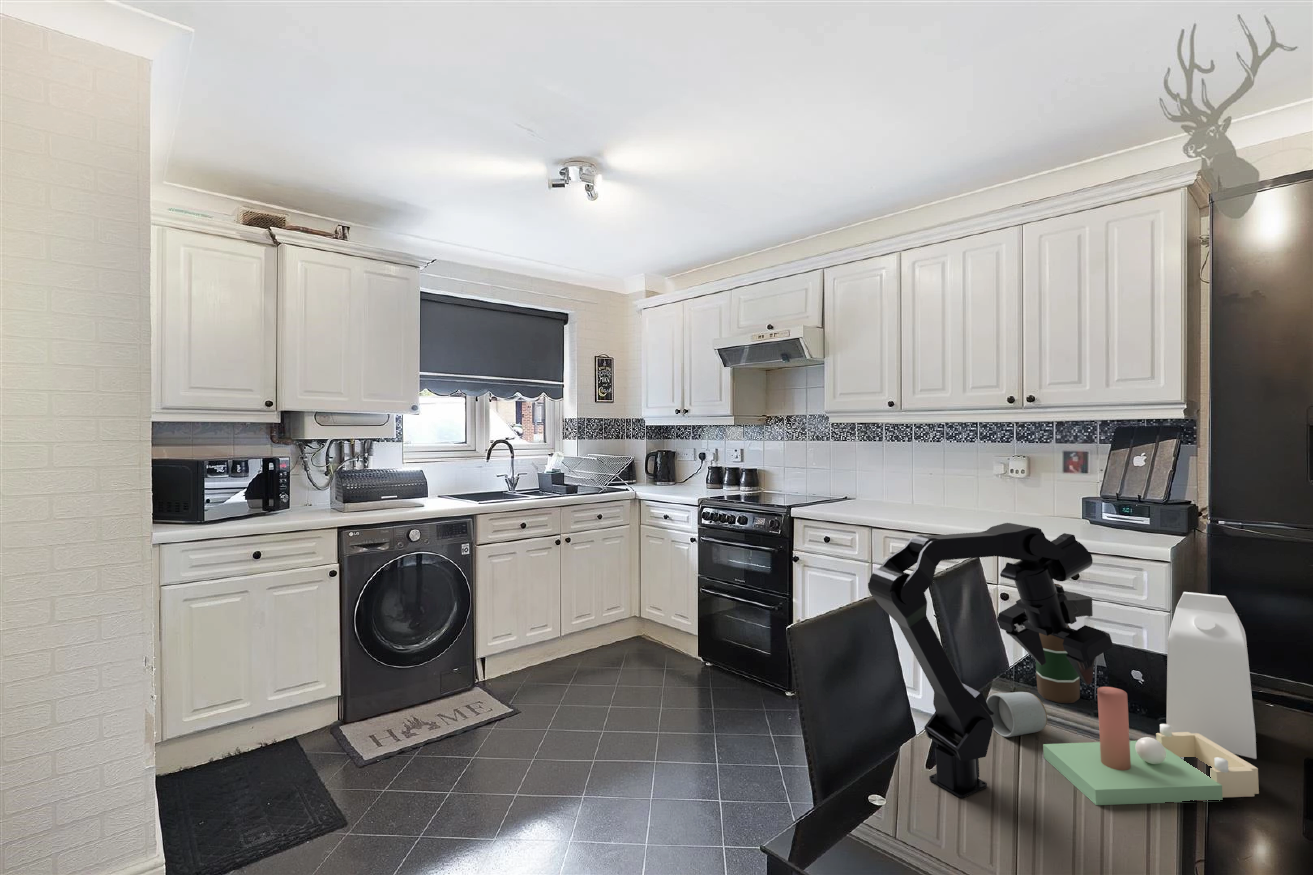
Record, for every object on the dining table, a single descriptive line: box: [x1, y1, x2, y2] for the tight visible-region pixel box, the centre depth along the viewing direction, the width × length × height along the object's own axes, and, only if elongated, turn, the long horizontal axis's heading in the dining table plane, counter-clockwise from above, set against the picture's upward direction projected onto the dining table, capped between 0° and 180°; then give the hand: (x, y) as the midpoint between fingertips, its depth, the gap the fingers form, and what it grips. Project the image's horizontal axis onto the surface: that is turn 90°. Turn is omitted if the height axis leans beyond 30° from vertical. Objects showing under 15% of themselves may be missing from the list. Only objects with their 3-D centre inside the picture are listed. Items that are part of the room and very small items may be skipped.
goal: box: [1155, 723, 1260, 798], centre depth 103 cm, size 7×13×6 cm, turn 178°
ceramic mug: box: [986, 691, 1048, 738], centre depth 122 cm, size 11×8×8 cm
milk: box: [1165, 591, 1258, 760], centre depth 115 cm, size 12×12×26 cm
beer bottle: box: [1035, 582, 1081, 704], centre depth 134 cm, size 8×8×24 cm
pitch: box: [1042, 740, 1224, 806], centre depth 104 cm, size 19×14×2 cm
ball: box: [1135, 736, 1166, 764], centre depth 104 cm, size 4×4×4 cm
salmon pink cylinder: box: [1096, 686, 1131, 770], centre depth 104 cm, size 4×4×12 cm
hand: (1065, 673), depth 110 cm, fingers open, 9 cm apart
